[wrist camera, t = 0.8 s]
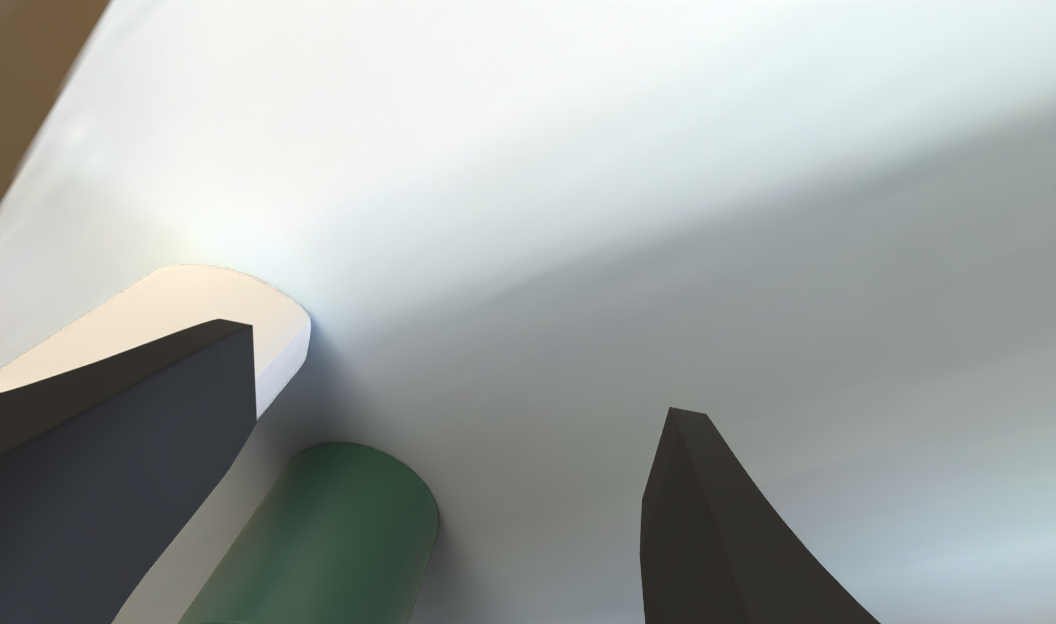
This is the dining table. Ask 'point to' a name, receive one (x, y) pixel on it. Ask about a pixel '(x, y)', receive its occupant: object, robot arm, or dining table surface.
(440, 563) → the dining table surface
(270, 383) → the eye dropper bottle
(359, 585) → the green tin can
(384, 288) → the dining table surface
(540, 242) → the dining table surface
